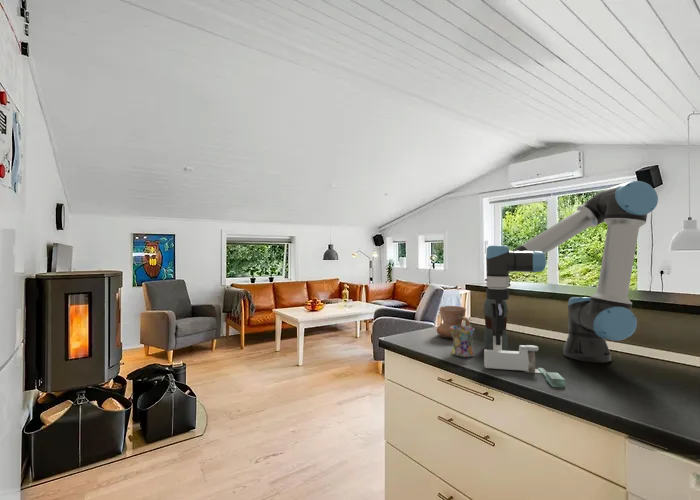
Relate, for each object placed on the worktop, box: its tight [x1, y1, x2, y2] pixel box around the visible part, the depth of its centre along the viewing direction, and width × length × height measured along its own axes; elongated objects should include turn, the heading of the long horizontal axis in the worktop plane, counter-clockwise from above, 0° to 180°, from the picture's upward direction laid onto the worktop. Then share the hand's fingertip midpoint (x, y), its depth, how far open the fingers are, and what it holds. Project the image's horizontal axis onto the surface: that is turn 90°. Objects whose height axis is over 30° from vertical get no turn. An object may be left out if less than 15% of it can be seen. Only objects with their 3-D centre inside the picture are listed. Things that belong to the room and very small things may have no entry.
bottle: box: [483, 297, 509, 351], centre depth 146 cm, size 9×9×30 cm
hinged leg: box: [483, 344, 539, 372], centre depth 120 cm, size 17×4×8 cm, turn 77°
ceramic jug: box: [436, 305, 470, 340], centre depth 166 cm, size 18×14×14 cm
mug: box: [450, 325, 476, 358], centre depth 138 cm, size 12×9×11 cm
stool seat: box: [524, 350, 566, 388], centre depth 119 cm, size 16×28×7 cm, turn 167°
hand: (497, 353), depth 126 cm, fingers closed
